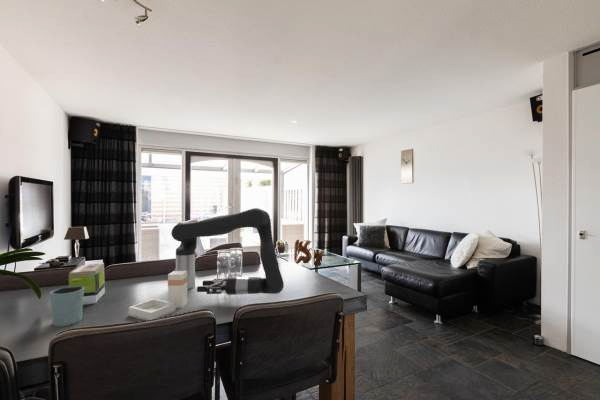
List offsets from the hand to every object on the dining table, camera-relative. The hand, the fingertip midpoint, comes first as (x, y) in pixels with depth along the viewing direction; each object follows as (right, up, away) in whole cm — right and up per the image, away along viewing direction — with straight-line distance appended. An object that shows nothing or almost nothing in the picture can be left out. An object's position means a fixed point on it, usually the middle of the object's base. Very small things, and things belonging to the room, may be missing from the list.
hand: (200, 286), depth 128 cm
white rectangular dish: (-15, -8, -10) cm, 20 cm away
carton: (-9, -8, 0) cm, 12 cm away
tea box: (-53, -8, +6) cm, 54 cm away
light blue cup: (-44, -8, -17) cm, 48 cm away
